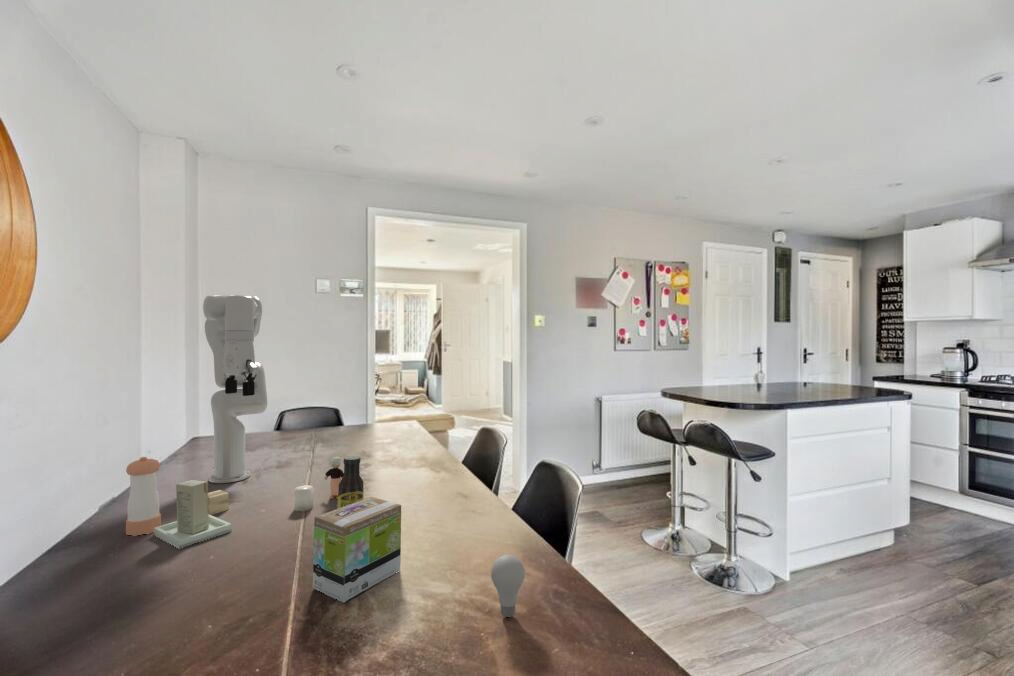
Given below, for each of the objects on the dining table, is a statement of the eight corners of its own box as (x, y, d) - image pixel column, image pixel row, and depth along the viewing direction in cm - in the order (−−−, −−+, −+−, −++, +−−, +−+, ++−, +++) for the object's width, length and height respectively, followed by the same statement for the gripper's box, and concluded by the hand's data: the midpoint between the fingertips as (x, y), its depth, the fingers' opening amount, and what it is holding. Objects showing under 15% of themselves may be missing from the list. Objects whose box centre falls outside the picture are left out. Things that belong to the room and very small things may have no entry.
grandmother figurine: (350, 495, 147) (349, 455, 147) (344, 499, 144) (344, 458, 144) (326, 494, 148) (326, 455, 148) (320, 498, 144) (320, 458, 144)
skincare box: (209, 528, 120) (209, 481, 120) (193, 535, 116) (193, 486, 116) (192, 524, 123) (192, 478, 123) (175, 531, 119) (175, 483, 119)
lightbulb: (490, 607, 87) (490, 549, 87) (522, 606, 87) (522, 548, 87) (491, 628, 81) (491, 565, 81) (526, 626, 81) (526, 563, 81)
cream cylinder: (290, 509, 136) (290, 488, 136) (306, 504, 140) (306, 484, 140) (301, 512, 133) (301, 491, 133) (316, 507, 137) (316, 487, 137)
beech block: (201, 511, 134) (201, 494, 134) (220, 506, 138) (220, 489, 138) (210, 515, 131) (210, 497, 131) (228, 509, 136) (228, 492, 136)
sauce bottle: (338, 543, 114) (338, 462, 113) (335, 533, 119) (334, 456, 119) (365, 537, 117) (365, 458, 117) (361, 528, 122) (361, 453, 122)
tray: (153, 535, 118) (153, 527, 118) (205, 519, 128) (205, 512, 128) (178, 549, 110) (178, 541, 110) (231, 531, 120) (231, 523, 120)
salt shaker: (167, 527, 123) (166, 455, 123) (135, 538, 116) (135, 462, 116) (151, 522, 126) (150, 452, 126) (119, 533, 119) (119, 458, 119)
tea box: (345, 605, 88) (344, 527, 88) (311, 589, 93) (311, 516, 93) (402, 571, 100) (402, 502, 100) (370, 559, 106) (370, 494, 106)
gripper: (211, 337, 140) (211, 393, 140) (242, 337, 131) (242, 397, 131) (237, 336, 146) (237, 391, 146) (268, 337, 137) (268, 395, 137)
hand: (239, 394), depth 139 cm, fingers open, 9 cm apart
